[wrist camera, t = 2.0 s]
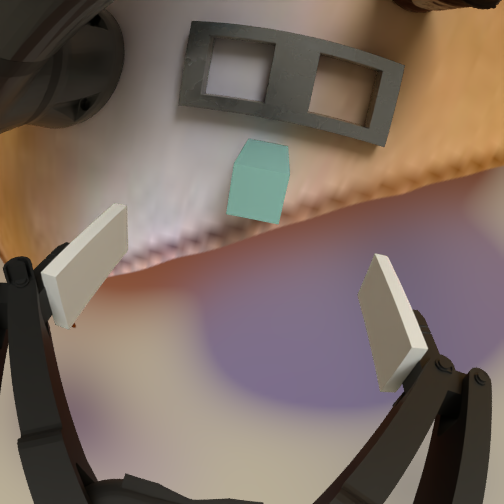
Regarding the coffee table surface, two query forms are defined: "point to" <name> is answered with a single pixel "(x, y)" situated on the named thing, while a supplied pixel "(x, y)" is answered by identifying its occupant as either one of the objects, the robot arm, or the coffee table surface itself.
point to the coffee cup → (444, 4)
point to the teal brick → (259, 181)
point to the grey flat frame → (291, 80)
